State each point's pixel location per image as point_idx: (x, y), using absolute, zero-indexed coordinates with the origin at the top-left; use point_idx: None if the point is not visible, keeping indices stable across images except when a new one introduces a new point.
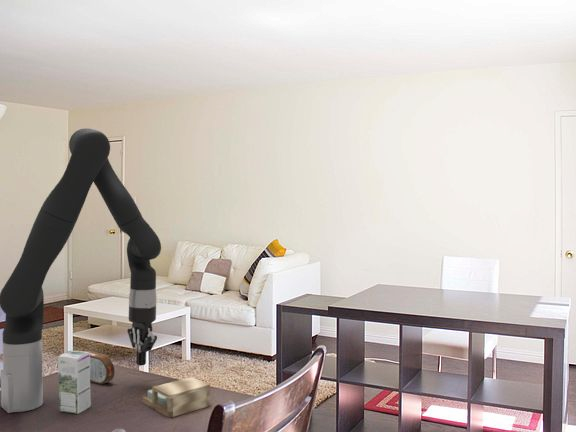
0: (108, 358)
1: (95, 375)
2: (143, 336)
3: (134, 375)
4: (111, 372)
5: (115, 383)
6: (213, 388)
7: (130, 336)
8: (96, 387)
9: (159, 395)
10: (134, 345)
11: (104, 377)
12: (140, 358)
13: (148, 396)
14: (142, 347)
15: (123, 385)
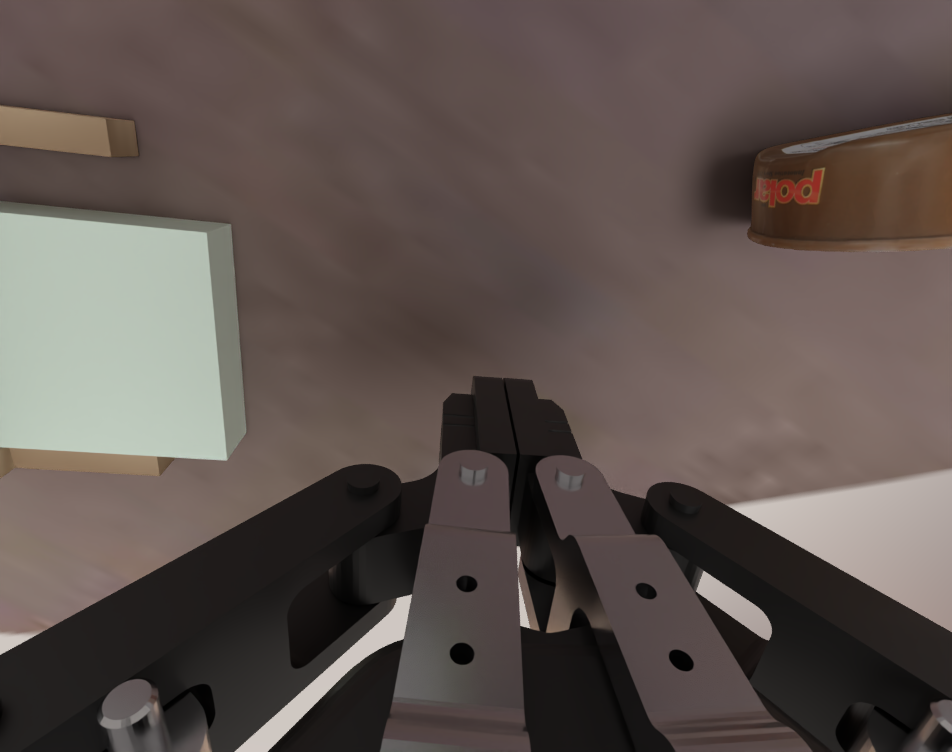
0: (940, 232)
1: (922, 126)
2: (287, 747)
3: (729, 435)
4: (767, 207)
5: (714, 244)
6: None
7: (883, 631)
8: (777, 67)
9: (16, 233)
10: (654, 516)
11: (796, 151)
12: (474, 427)
13: (205, 224)
14: (356, 515)
15: (624, 261)
